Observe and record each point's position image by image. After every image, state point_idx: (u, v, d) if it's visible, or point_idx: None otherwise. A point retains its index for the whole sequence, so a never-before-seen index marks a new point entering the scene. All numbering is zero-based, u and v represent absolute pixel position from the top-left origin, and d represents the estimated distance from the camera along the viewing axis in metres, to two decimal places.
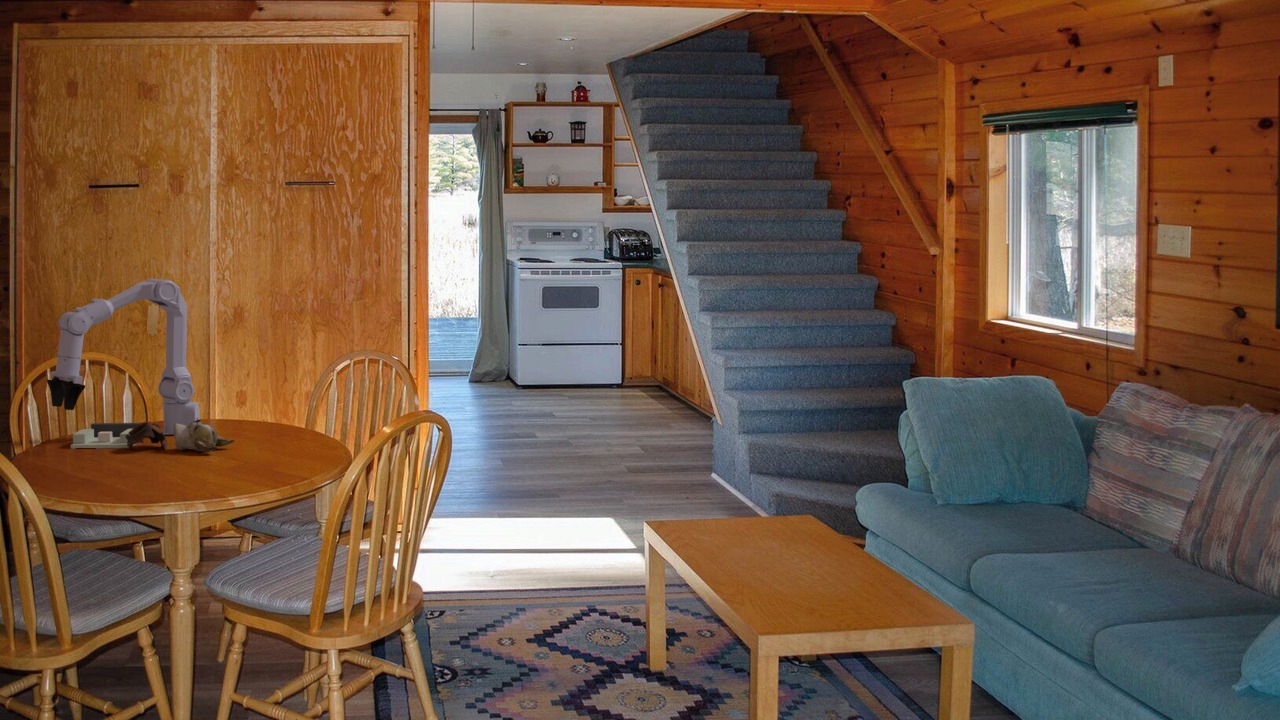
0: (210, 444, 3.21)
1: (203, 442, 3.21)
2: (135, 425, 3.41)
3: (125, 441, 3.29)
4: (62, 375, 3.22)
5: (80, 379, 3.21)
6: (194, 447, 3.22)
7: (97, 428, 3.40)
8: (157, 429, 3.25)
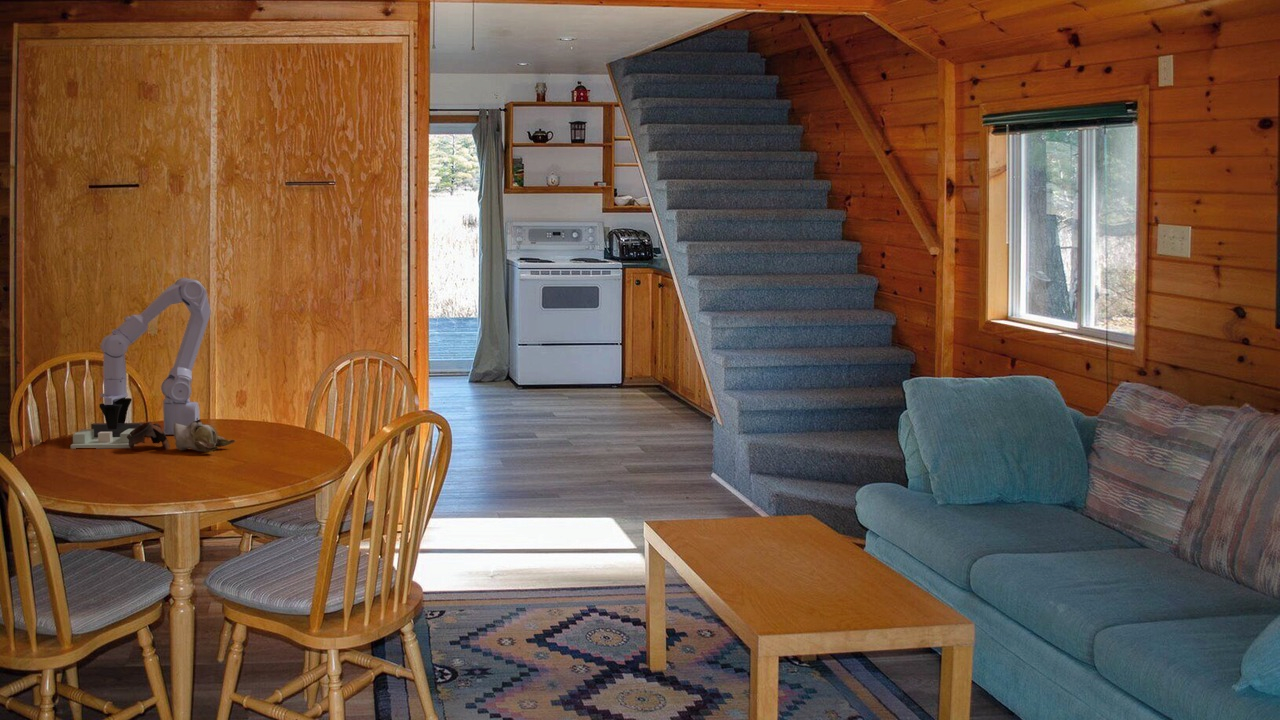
0: (211, 444, 3.21)
1: (203, 442, 3.21)
2: (135, 425, 3.41)
3: (125, 441, 3.29)
4: (104, 396, 3.37)
5: (109, 400, 3.33)
6: (194, 447, 3.22)
7: (97, 428, 3.40)
8: (158, 429, 3.25)
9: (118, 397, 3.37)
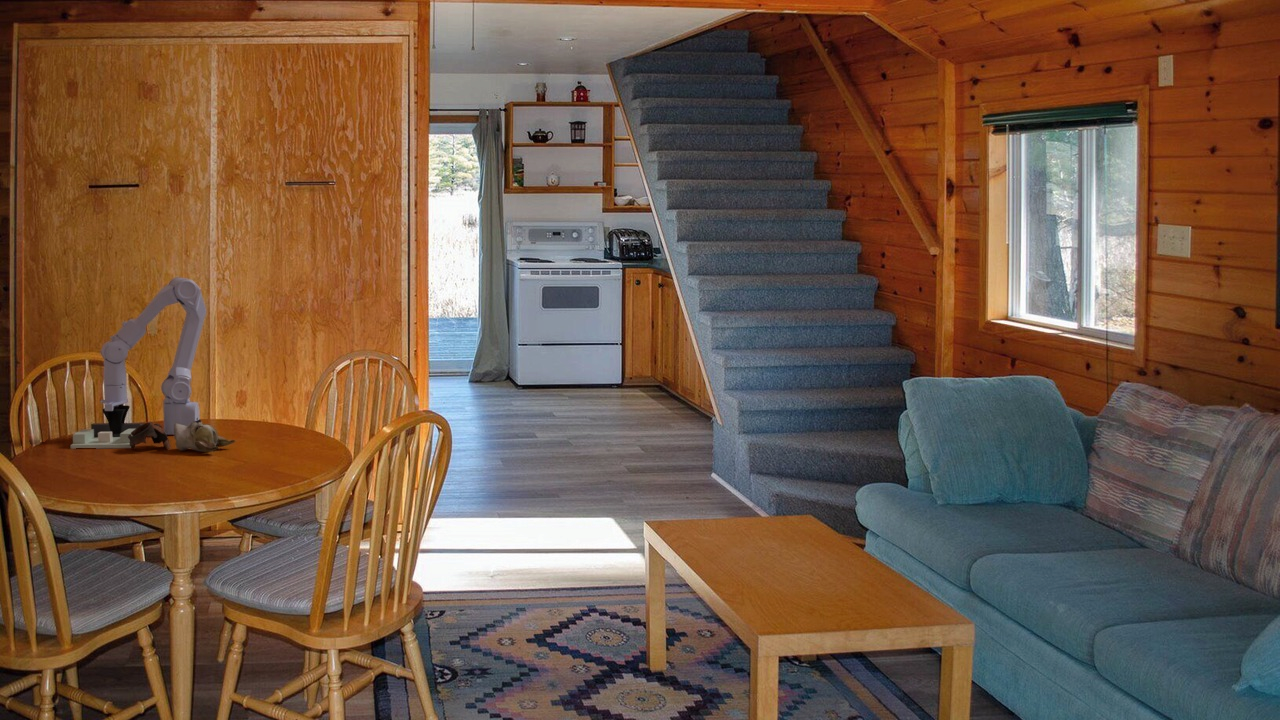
0: (211, 444, 3.21)
1: (204, 442, 3.21)
2: (135, 425, 3.41)
3: (125, 441, 3.29)
4: (104, 402, 3.37)
5: (110, 406, 3.33)
6: (195, 447, 3.22)
7: (97, 428, 3.40)
8: (159, 429, 3.25)
9: (118, 403, 3.37)
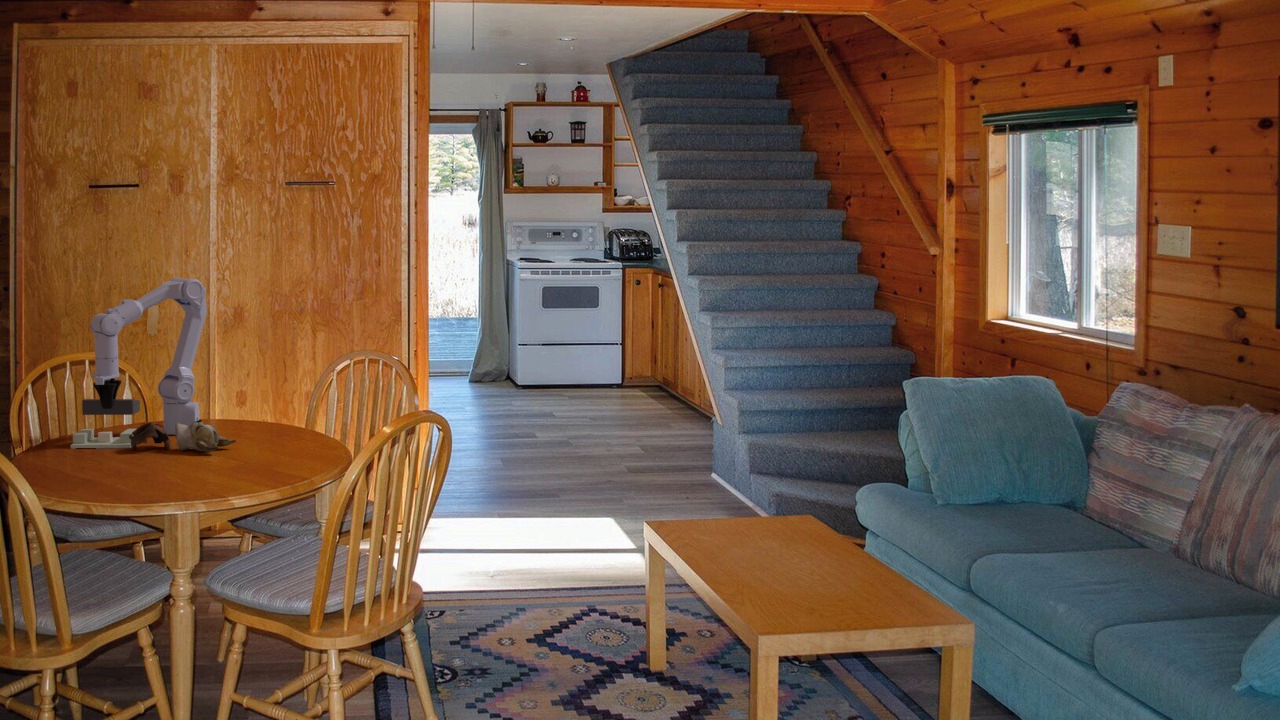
0: (211, 444, 3.21)
1: (204, 442, 3.21)
2: (127, 401, 3.33)
3: (125, 441, 3.29)
4: (95, 376, 3.30)
5: (100, 380, 3.26)
6: (196, 447, 3.22)
7: (88, 404, 3.32)
8: (161, 429, 3.25)
9: (110, 377, 3.29)
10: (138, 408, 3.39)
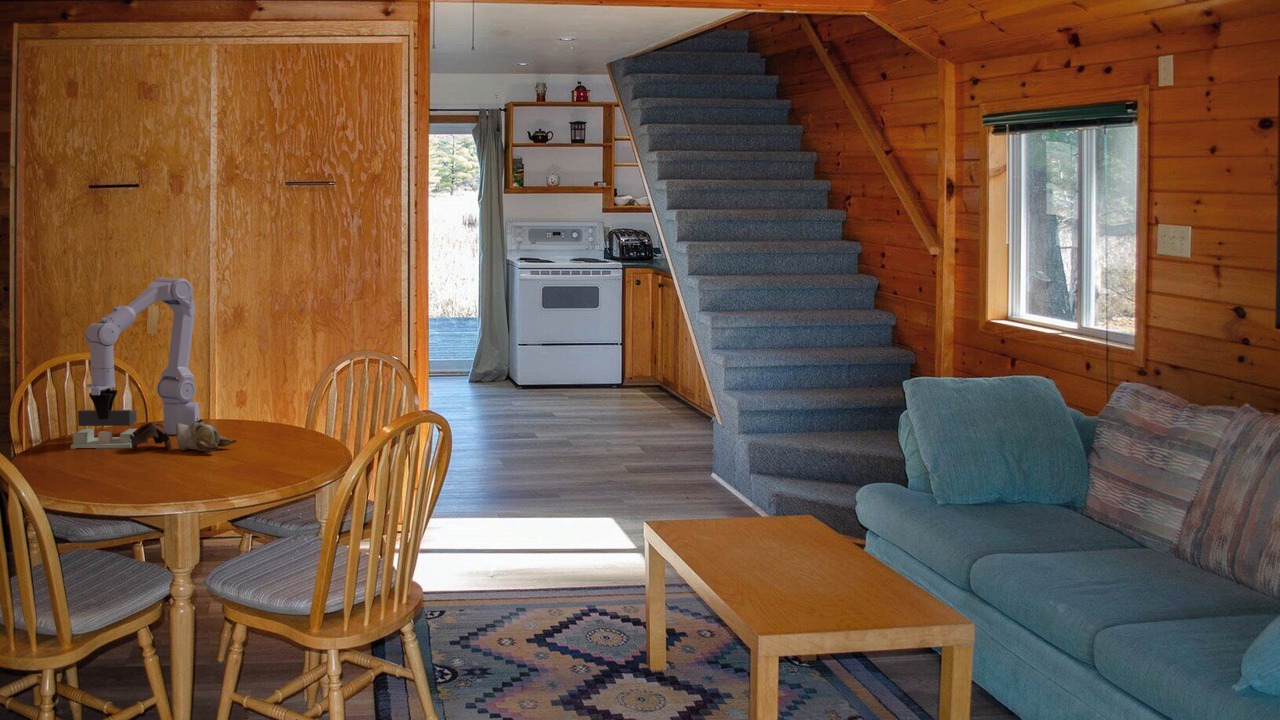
0: (212, 444, 3.21)
1: (205, 442, 3.21)
2: (124, 412, 3.29)
3: (125, 441, 3.29)
4: (91, 386, 3.26)
5: (96, 390, 3.22)
6: (196, 447, 3.22)
7: (84, 415, 3.28)
8: (161, 429, 3.25)
9: (106, 387, 3.25)
10: (135, 419, 3.35)
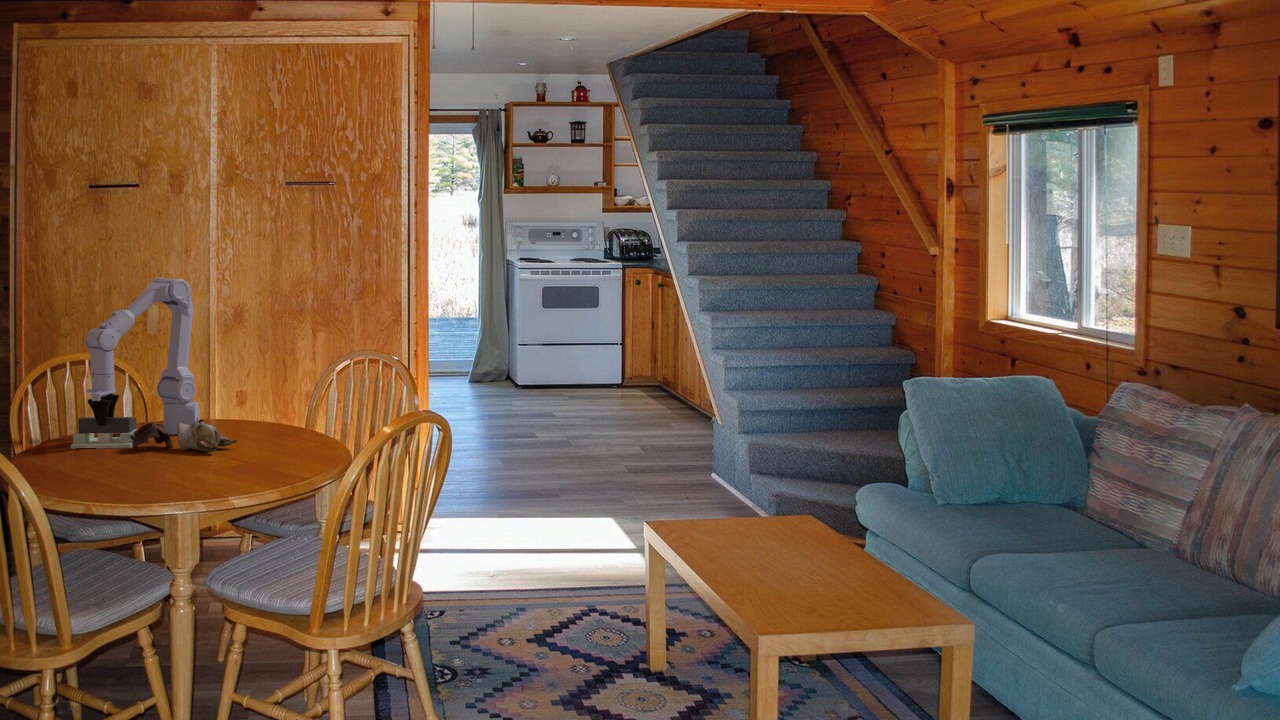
0: (212, 444, 3.21)
1: (205, 442, 3.21)
2: (124, 419, 3.30)
3: (125, 441, 3.29)
4: (91, 392, 3.26)
5: (97, 396, 3.22)
6: (197, 447, 3.23)
7: (84, 423, 3.28)
8: (162, 429, 3.25)
9: (106, 393, 3.25)
10: (135, 425, 3.35)
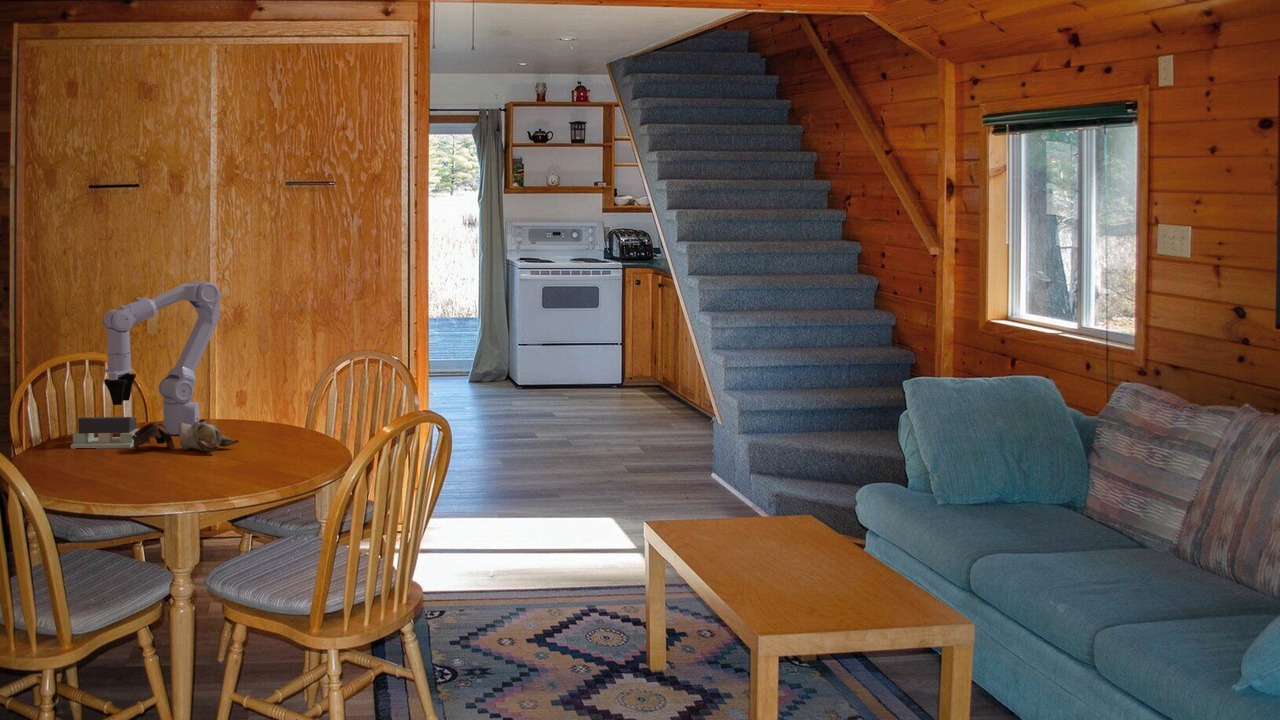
0: (213, 444, 3.21)
1: (206, 442, 3.22)
2: (124, 419, 3.30)
3: (125, 441, 3.29)
4: (108, 372, 3.34)
5: (114, 375, 3.30)
6: (198, 447, 3.23)
7: (84, 423, 3.28)
8: (164, 429, 3.25)
9: (123, 372, 3.33)
10: (135, 425, 3.35)
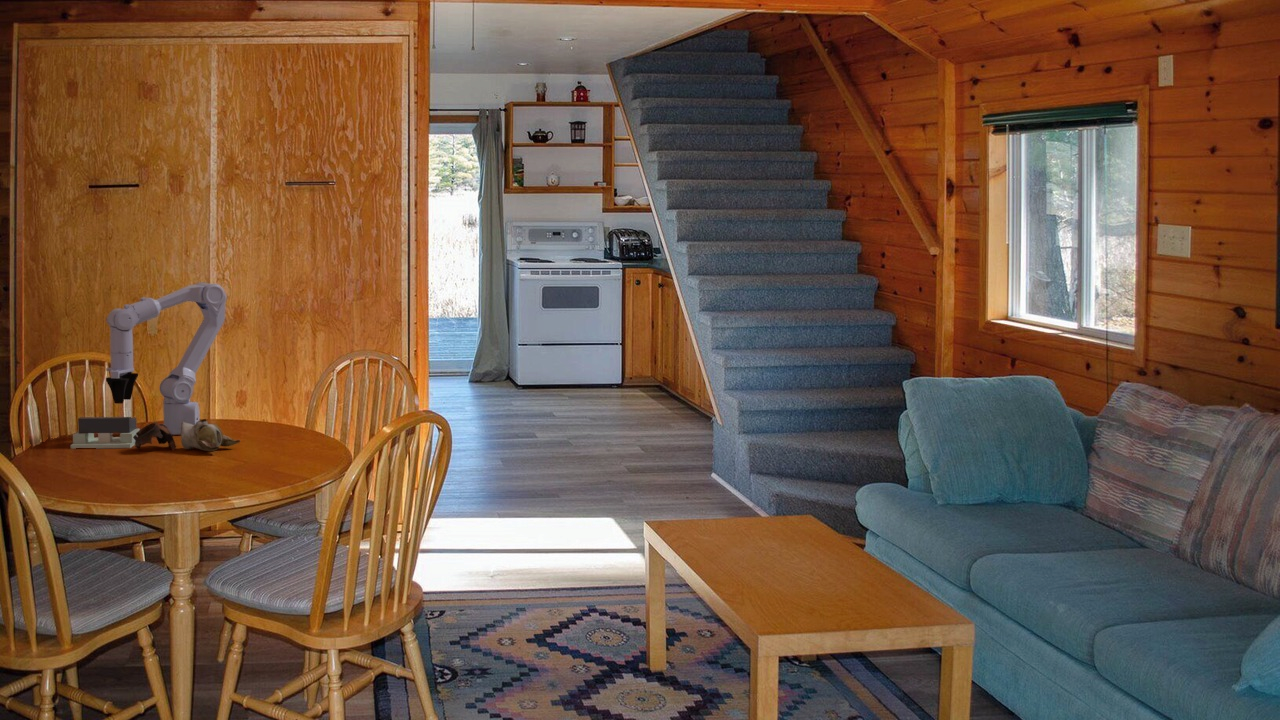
0: (214, 444, 3.22)
1: (207, 442, 3.22)
2: (124, 419, 3.30)
3: (125, 441, 3.29)
4: (110, 370, 3.36)
5: (116, 374, 3.31)
6: (199, 446, 3.23)
7: (84, 423, 3.28)
8: (165, 429, 3.25)
9: (125, 371, 3.35)
10: (135, 425, 3.35)
